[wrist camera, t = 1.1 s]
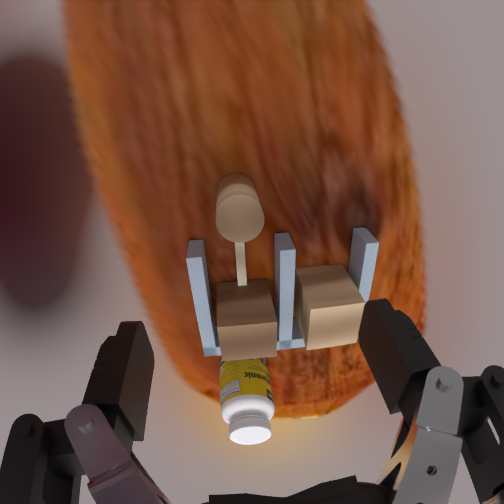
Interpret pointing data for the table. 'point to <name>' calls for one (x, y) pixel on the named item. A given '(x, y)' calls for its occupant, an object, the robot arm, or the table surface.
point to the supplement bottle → (246, 400)
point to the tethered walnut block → (243, 277)
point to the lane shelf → (276, 286)
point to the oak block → (327, 306)
